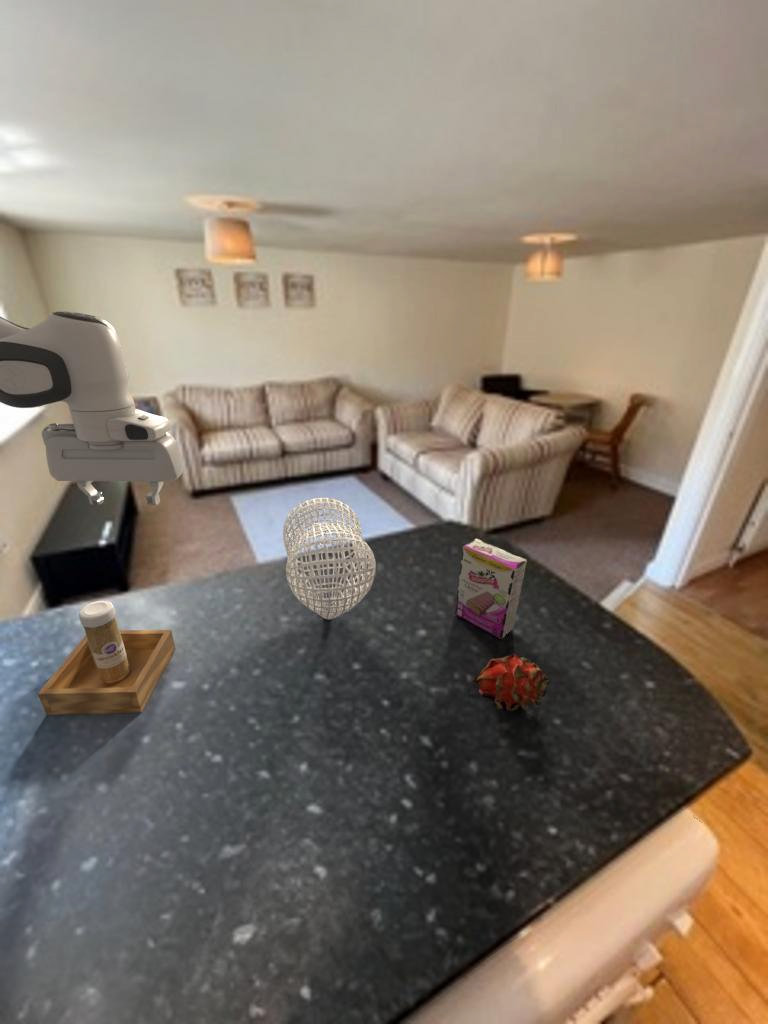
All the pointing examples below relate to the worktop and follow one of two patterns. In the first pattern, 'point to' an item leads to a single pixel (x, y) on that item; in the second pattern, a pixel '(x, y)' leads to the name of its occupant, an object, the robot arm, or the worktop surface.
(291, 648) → the worktop surface
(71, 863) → the worktop surface
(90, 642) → the sprinkles bottle
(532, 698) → the dragon fruit
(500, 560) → the candy bar box
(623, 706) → the worktop surface
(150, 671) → the holder
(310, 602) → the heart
